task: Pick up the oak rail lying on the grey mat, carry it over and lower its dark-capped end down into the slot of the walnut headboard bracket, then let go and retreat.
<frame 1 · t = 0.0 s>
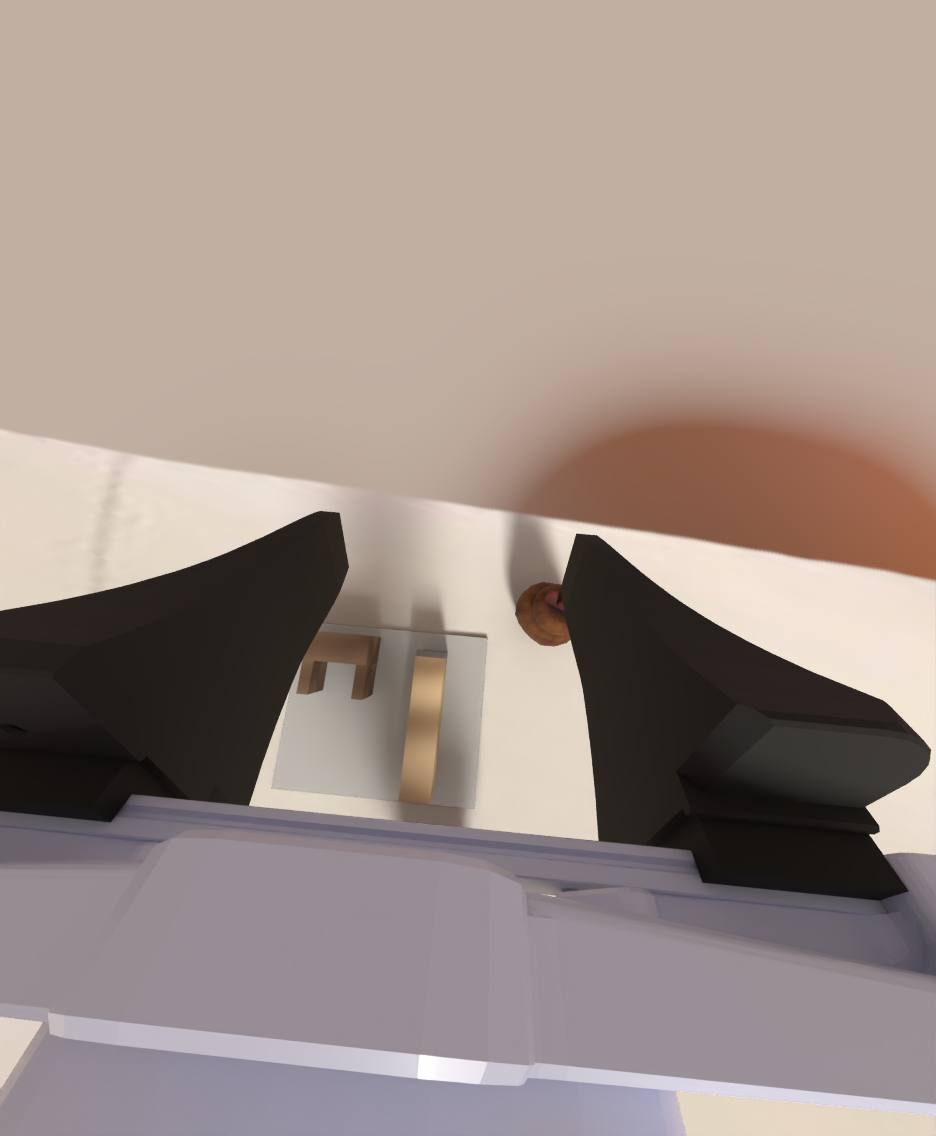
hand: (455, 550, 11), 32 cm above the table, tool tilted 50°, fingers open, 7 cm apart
mat: (384, 709, 40), on the table
headboard bracket: (346, 664, 41), resting on mat
wooden figurine: (538, 617, 43), on the table
rail: (428, 714, 40), resting on mat
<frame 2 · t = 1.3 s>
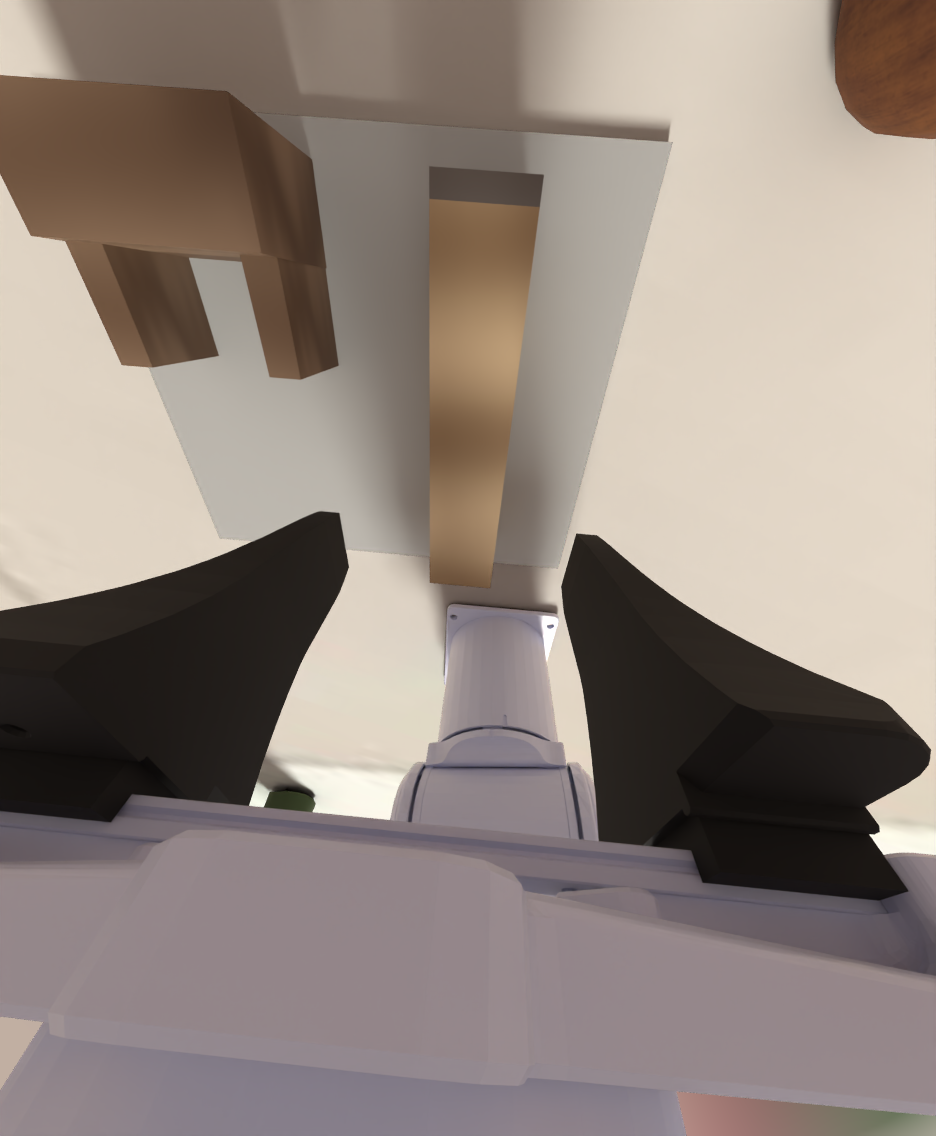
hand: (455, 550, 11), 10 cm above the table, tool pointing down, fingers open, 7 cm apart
mat: (376, 401, 18), on the table
headboard bracket: (246, 277, 15), resting on mat
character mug: (295, 792, 49), on the table
wooden figurine: (907, 11, 11), on the table
rail: (475, 411, 17), resting on mat
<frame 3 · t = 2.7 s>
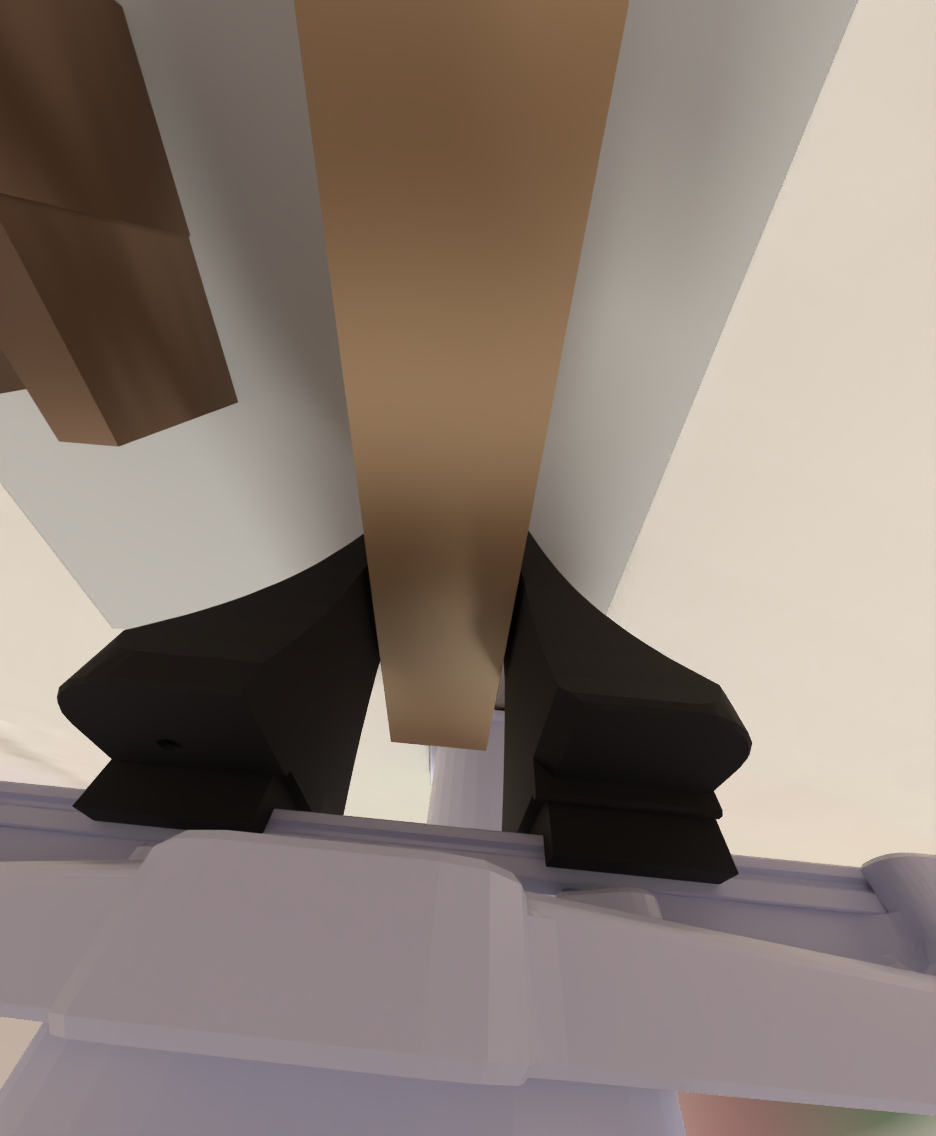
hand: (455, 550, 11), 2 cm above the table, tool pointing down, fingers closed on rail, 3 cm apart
mat: (308, 454, 11), on the table
headboard bracket: (54, 254, 8), resting on mat
rail: (462, 472, 11), resting on mat, touching gripper
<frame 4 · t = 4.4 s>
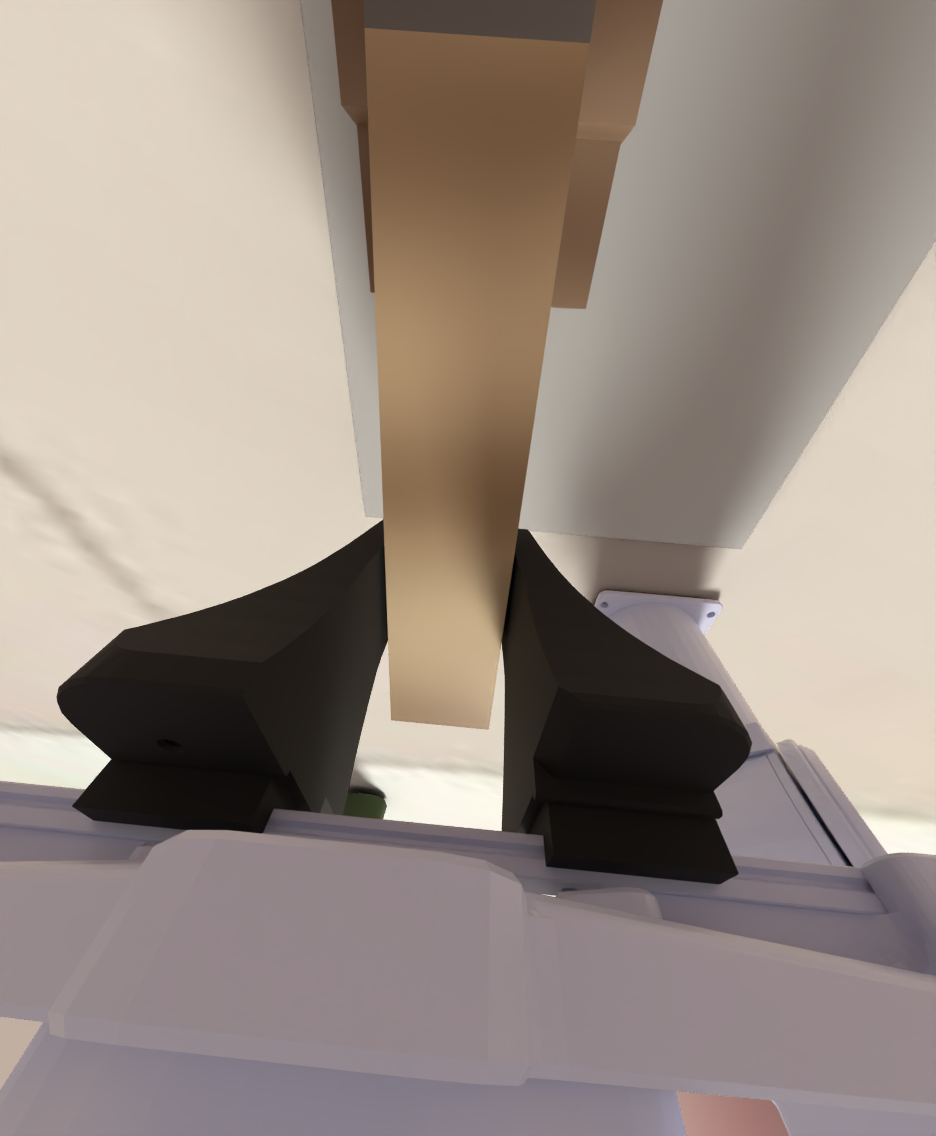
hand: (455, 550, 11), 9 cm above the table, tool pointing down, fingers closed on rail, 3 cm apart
mat: (592, 353, 16), on the table
headboard bracket: (488, 197, 13), resting on mat
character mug: (364, 794, 46), on the table
rail: (465, 460, 12), point 7 cm above the table, tilted 9°, touching gripper
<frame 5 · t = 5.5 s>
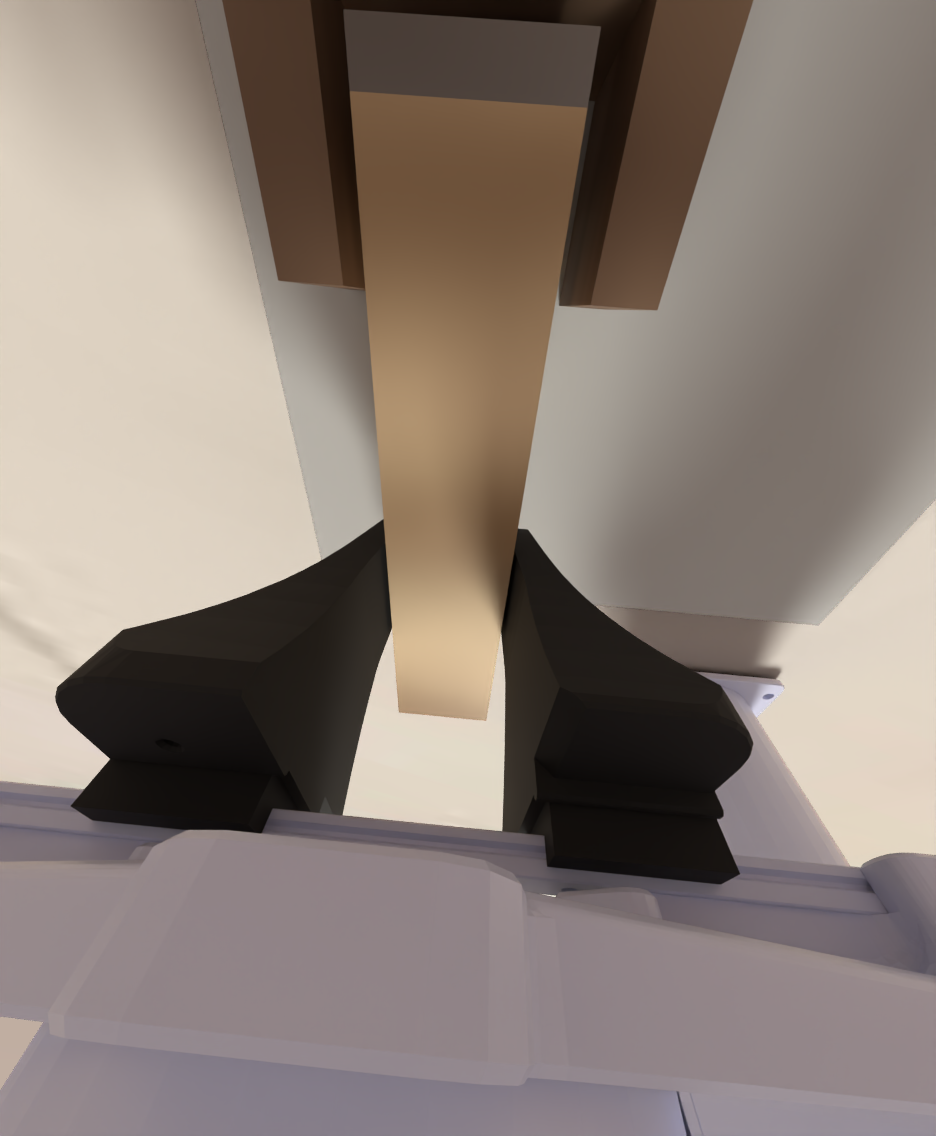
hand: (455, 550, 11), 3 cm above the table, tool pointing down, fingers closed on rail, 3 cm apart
mat: (636, 374, 11), on the table
headboard bracket: (487, 129, 8), resting on mat
rail: (465, 467, 12), point 1 cm above the table, touching gripper, mat
when the fingers open (3 cm above the table, at t = 5.9 s): rail stays where it is, resting on mat.
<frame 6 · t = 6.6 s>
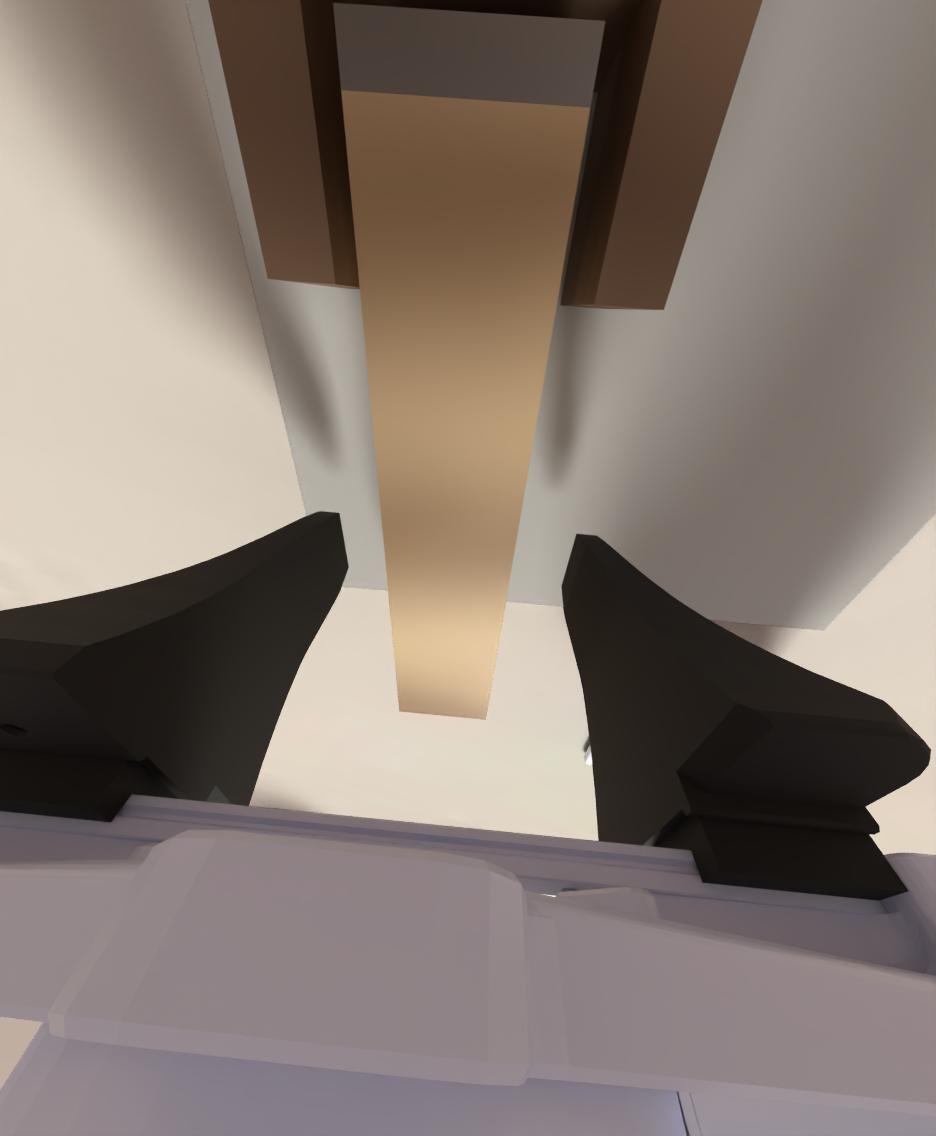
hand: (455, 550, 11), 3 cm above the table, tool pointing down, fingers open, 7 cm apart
mat: (640, 375, 10), on the table
headboard bracket: (485, 122, 8), resting on mat
rail: (464, 466, 12), resting on mat
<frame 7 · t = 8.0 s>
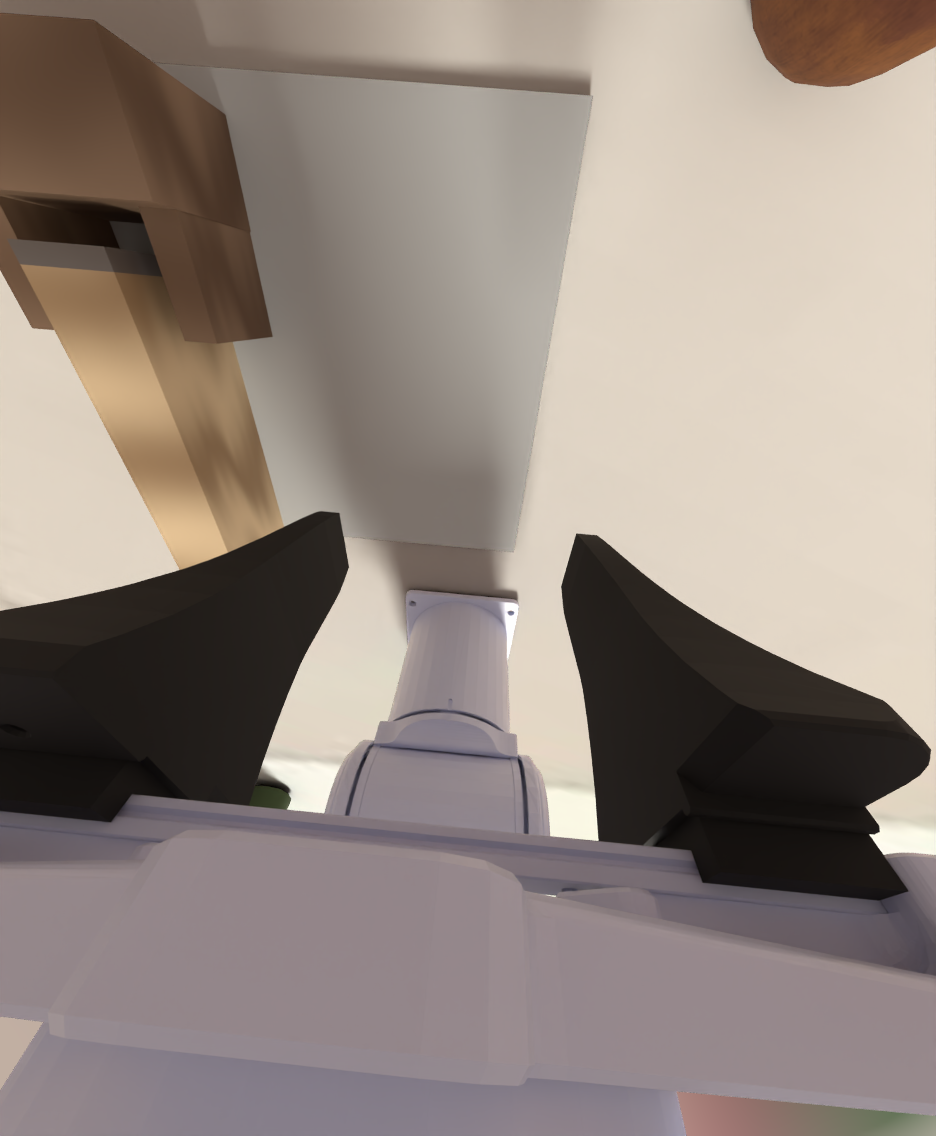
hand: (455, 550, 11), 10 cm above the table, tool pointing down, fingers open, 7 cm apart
mat: (316, 375, 17), on the table
headboard bracket: (170, 242, 14), resting on mat
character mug: (270, 787, 48), on the table
rail: (231, 433, 19), resting on mat
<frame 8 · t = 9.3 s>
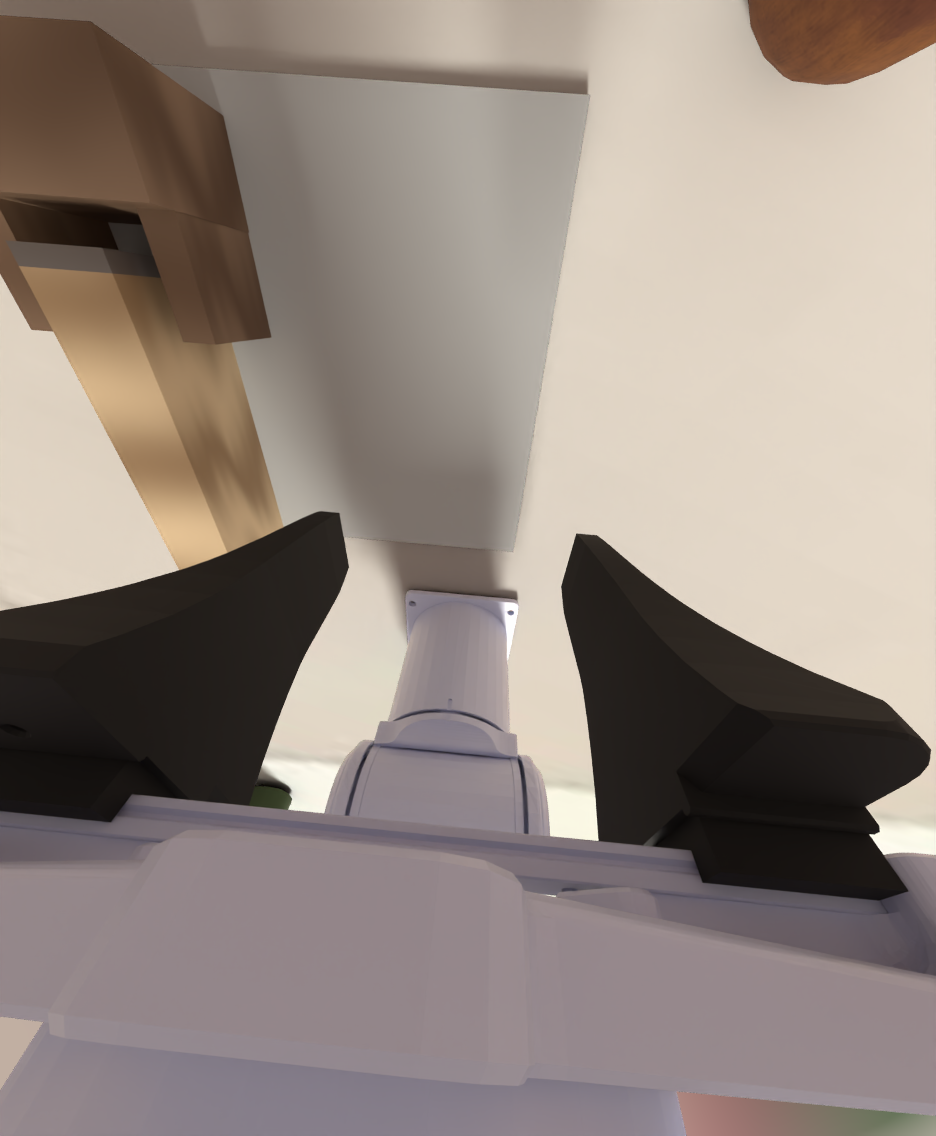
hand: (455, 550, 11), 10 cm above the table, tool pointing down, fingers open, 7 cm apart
mat: (315, 375, 17), on the table
headboard bracket: (168, 243, 14), resting on mat
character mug: (271, 788, 48), on the table
rail: (230, 433, 19), resting on mat
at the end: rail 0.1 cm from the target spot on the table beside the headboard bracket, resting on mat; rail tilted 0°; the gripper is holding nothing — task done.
